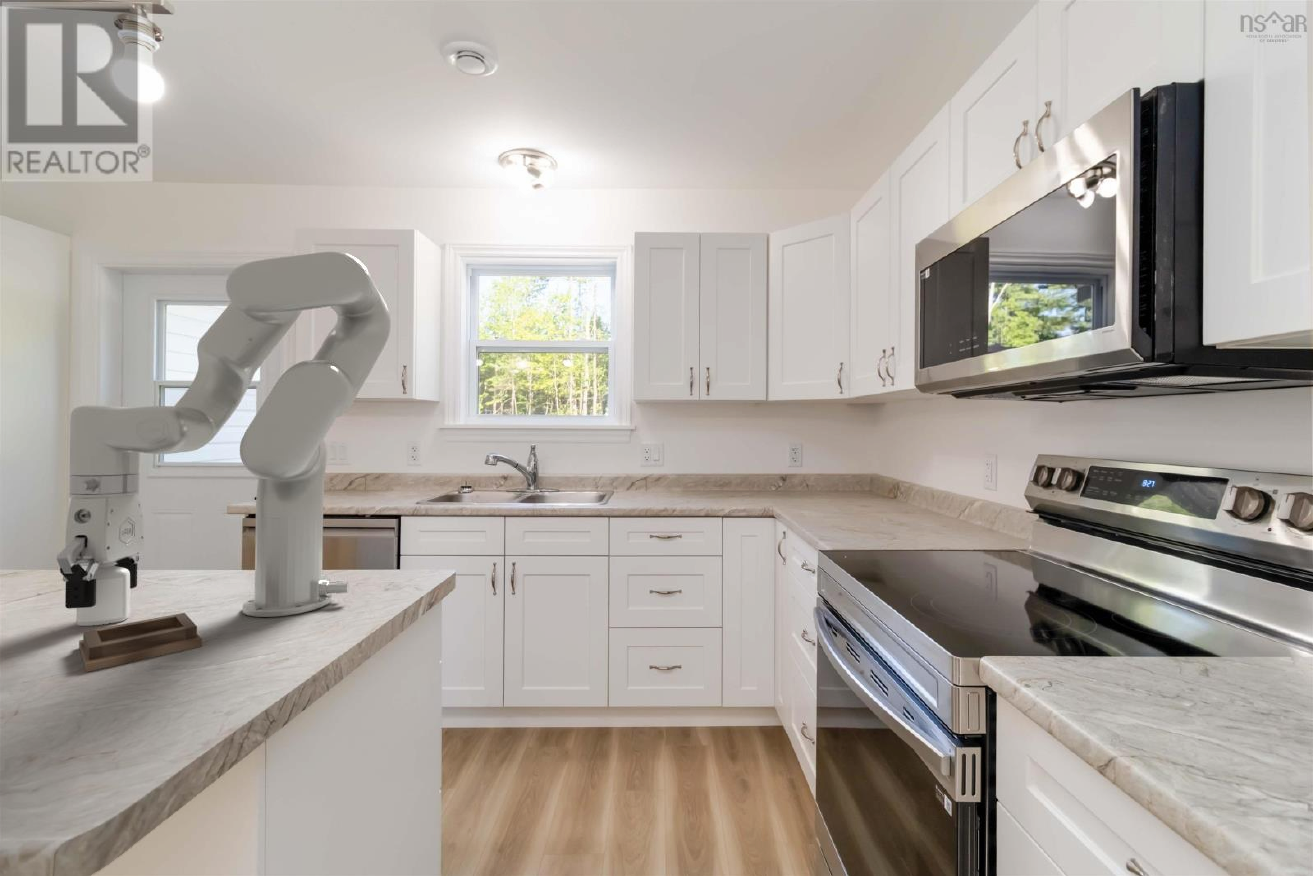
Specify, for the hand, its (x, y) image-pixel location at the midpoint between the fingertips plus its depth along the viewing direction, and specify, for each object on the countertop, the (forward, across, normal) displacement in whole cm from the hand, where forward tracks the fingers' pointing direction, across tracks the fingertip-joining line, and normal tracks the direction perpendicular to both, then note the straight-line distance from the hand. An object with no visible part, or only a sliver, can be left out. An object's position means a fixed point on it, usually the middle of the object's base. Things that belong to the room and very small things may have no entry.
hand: (103, 597), depth 83 cm
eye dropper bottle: (+4, 0, 0) cm, 4 cm away
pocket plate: (+4, -13, -11) cm, 17 cm away
